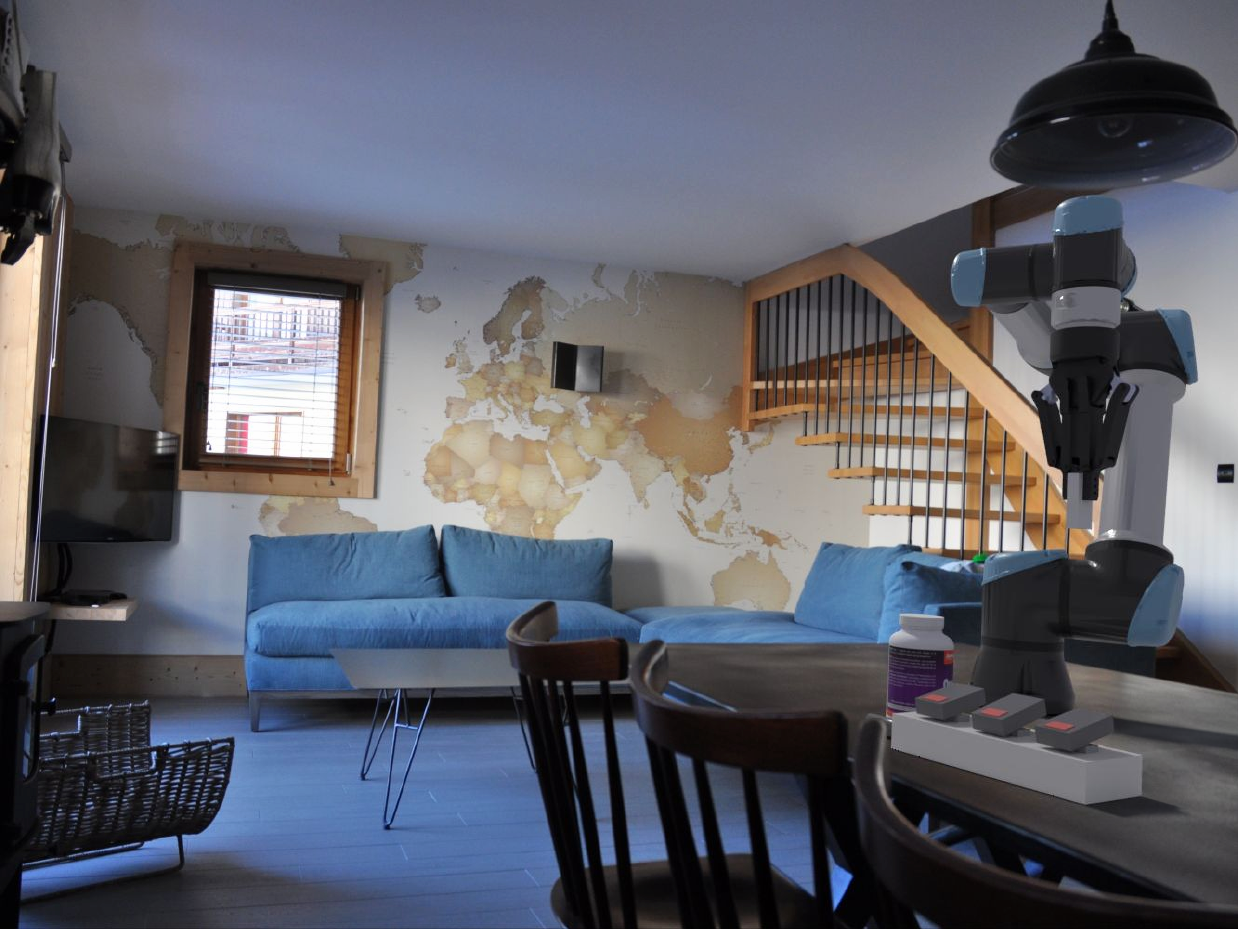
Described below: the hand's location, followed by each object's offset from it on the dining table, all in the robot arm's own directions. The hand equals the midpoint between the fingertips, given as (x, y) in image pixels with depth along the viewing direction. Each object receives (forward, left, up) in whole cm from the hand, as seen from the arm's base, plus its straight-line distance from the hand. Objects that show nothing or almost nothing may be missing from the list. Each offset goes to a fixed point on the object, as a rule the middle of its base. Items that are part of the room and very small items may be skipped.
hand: (1079, 528), depth 123 cm
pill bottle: (+6, -18, -27) cm, 33 cm away
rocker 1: (+14, -6, -20) cm, 25 cm away
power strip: (+14, -2, -26) cm, 30 cm away
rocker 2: (+14, +2, -20) cm, 25 cm away
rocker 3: (+14, +10, -20) cm, 27 cm away
